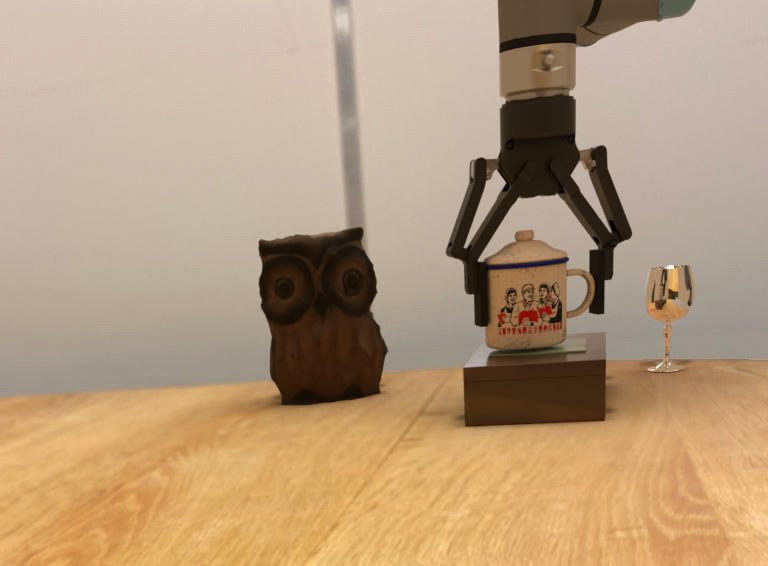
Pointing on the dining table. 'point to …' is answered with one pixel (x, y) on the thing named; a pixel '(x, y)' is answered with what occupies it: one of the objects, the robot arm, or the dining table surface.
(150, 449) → the dining table surface
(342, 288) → the owl
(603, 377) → the wooden keepsake box
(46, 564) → the dining table surface
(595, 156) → the robot arm
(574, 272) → the teacup with lid
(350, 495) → the dining table surface
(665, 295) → the wineglass
